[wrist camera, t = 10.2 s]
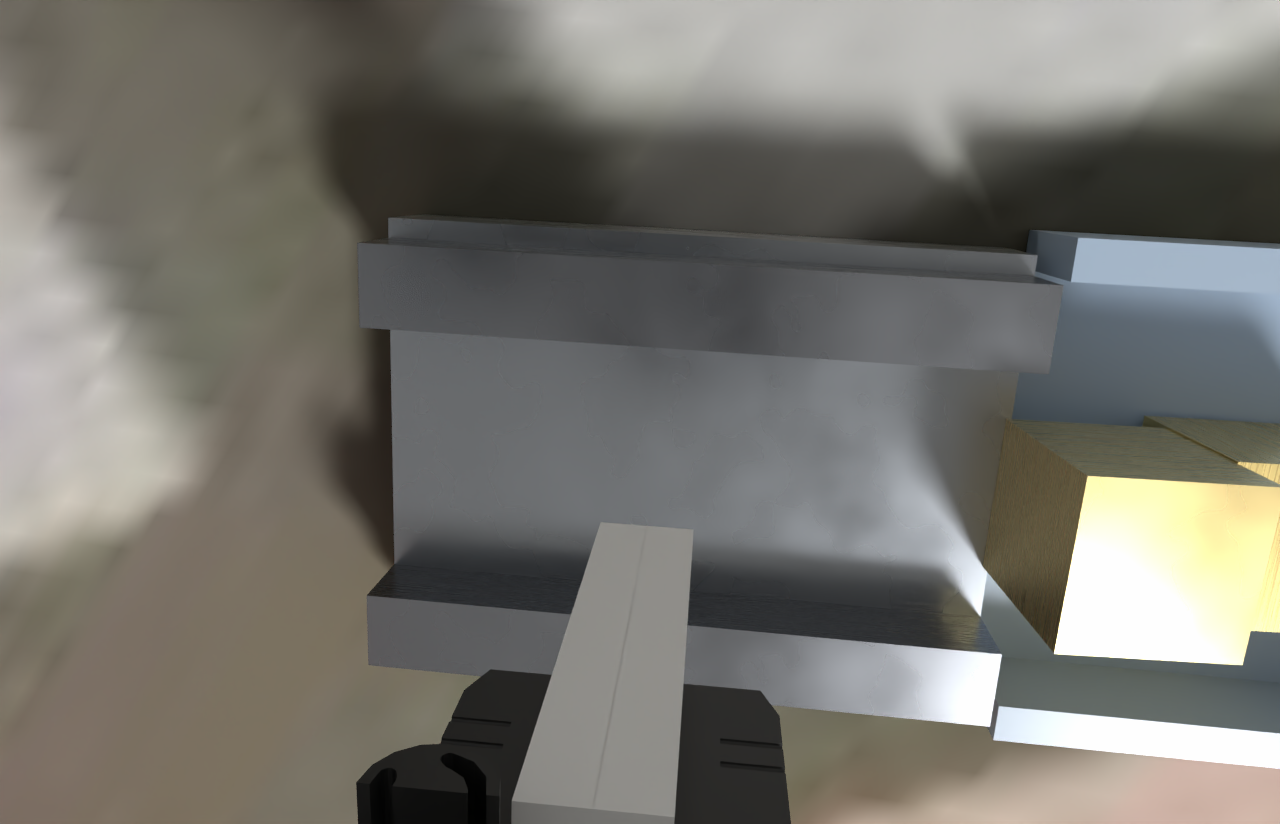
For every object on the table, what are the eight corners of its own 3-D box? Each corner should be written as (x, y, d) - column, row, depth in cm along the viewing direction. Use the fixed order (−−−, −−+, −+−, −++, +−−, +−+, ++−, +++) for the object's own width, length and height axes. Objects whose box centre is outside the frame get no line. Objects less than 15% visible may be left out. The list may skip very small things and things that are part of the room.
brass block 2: (1238, 461, 20) (1445, 474, 20) (1144, 415, 24) (1317, 425, 24) (1199, 627, 21) (1396, 639, 21) (1116, 557, 25) (1282, 567, 25)
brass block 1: (1006, 418, 23) (1087, 476, 18) (1166, 427, 23) (1286, 487, 18) (982, 566, 24) (1054, 653, 19) (1135, 575, 24) (1242, 665, 19)
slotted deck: (420, 214, 25) (356, 220, 21) (1007, 247, 24) (1067, 262, 20) (424, 605, 28) (369, 681, 24) (946, 654, 27) (987, 744, 23)
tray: (1029, 229, 24) (1078, 237, 21) (1474, 254, 23) (1602, 266, 20) (960, 670, 27) (993, 740, 24) (1348, 707, 26) (1439, 784, 23)
